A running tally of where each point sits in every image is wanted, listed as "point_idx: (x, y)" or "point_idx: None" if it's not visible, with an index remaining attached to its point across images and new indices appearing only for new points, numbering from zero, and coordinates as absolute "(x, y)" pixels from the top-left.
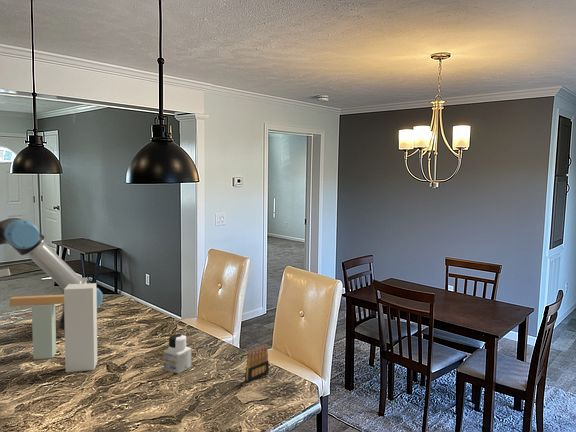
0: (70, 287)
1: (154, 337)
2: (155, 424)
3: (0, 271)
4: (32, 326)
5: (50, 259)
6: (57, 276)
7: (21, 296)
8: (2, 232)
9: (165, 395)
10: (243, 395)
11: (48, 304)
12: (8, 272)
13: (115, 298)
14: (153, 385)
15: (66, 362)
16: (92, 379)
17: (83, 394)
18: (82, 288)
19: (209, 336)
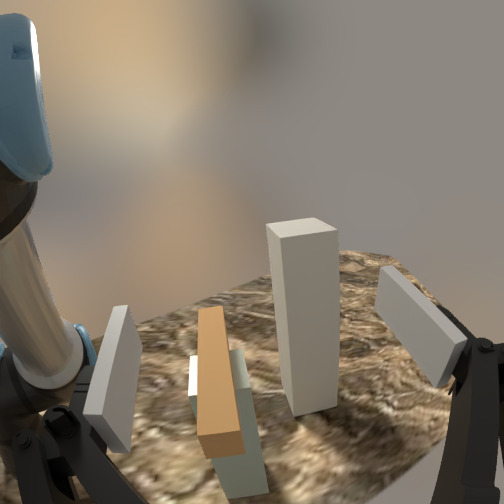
0: (316, 229)
1: (177, 345)
2: (423, 291)
3: (120, 353)
4: (259, 439)
5: (37, 253)
6: (53, 322)
7: (199, 405)
8: None
9: (373, 299)
10: (354, 268)
11: (232, 356)
12: (135, 331)
13: None
14: (354, 311)
15: (336, 390)
16: (355, 363)
17: (401, 352)
18: (320, 221)
19: (194, 303)
